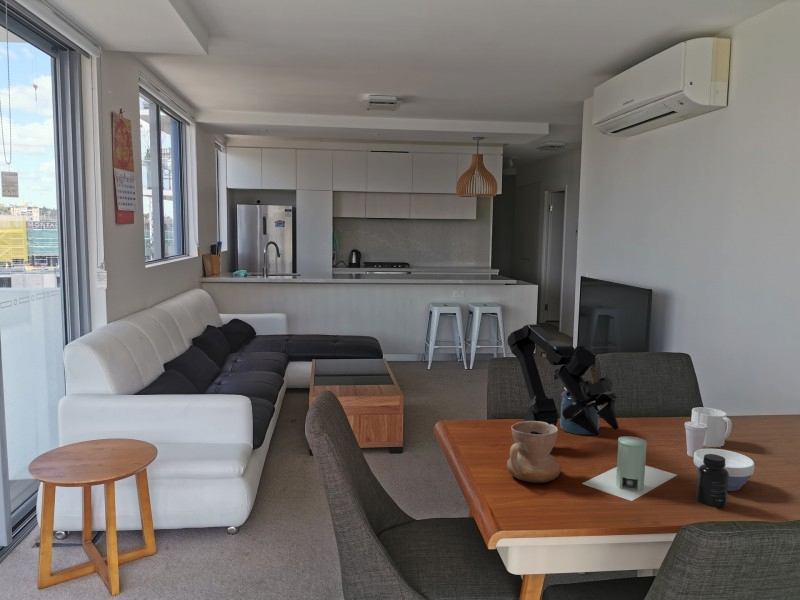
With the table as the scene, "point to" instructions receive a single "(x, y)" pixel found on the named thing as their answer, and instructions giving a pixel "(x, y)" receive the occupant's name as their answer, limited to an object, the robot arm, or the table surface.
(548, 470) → the ceramic jug
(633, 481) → the steel ball
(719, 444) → the mug
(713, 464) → the supplement bottle
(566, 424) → the canister
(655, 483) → the off-white mat
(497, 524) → the table surface
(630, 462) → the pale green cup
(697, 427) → the smoothie
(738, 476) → the bowl
